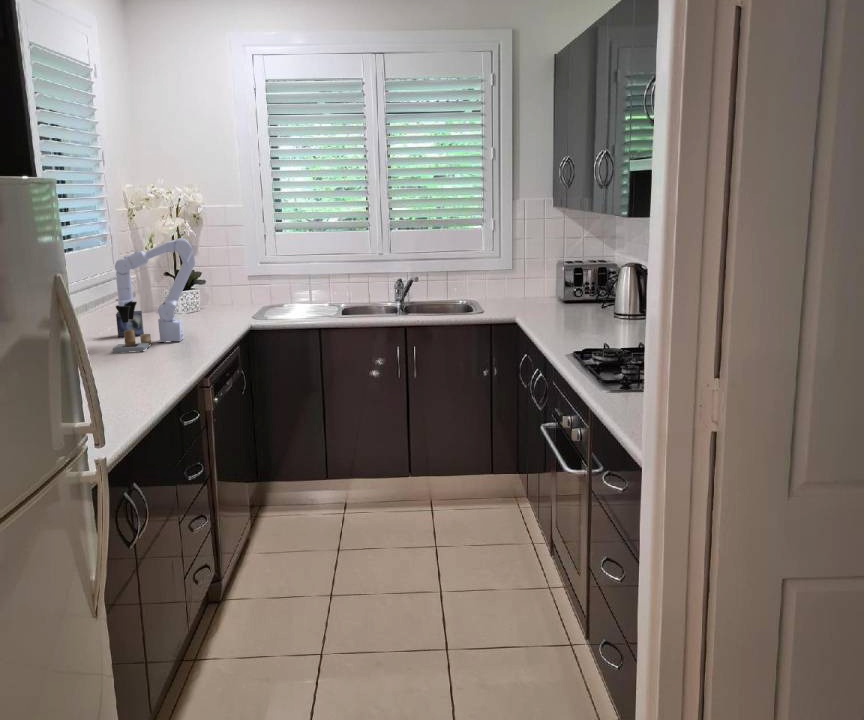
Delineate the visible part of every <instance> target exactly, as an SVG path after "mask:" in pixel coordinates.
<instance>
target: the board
mask: <svg viewBox="0 0 864 720" xmlns="http://www.w3.org/2000/svg"><path fill="white" fill-rule="evenodd" d="M148 347H149V348H150V346H149V343H141V342H139V343H136V347H125V343H118V344H117V345H116V346H115V345H114V346H113V348H112V353H113V354H121V353H120V352H129V351H143V350H145V349H146V348H148ZM149 348H148V349H149ZM118 352H119V353H118Z"/></svg>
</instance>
